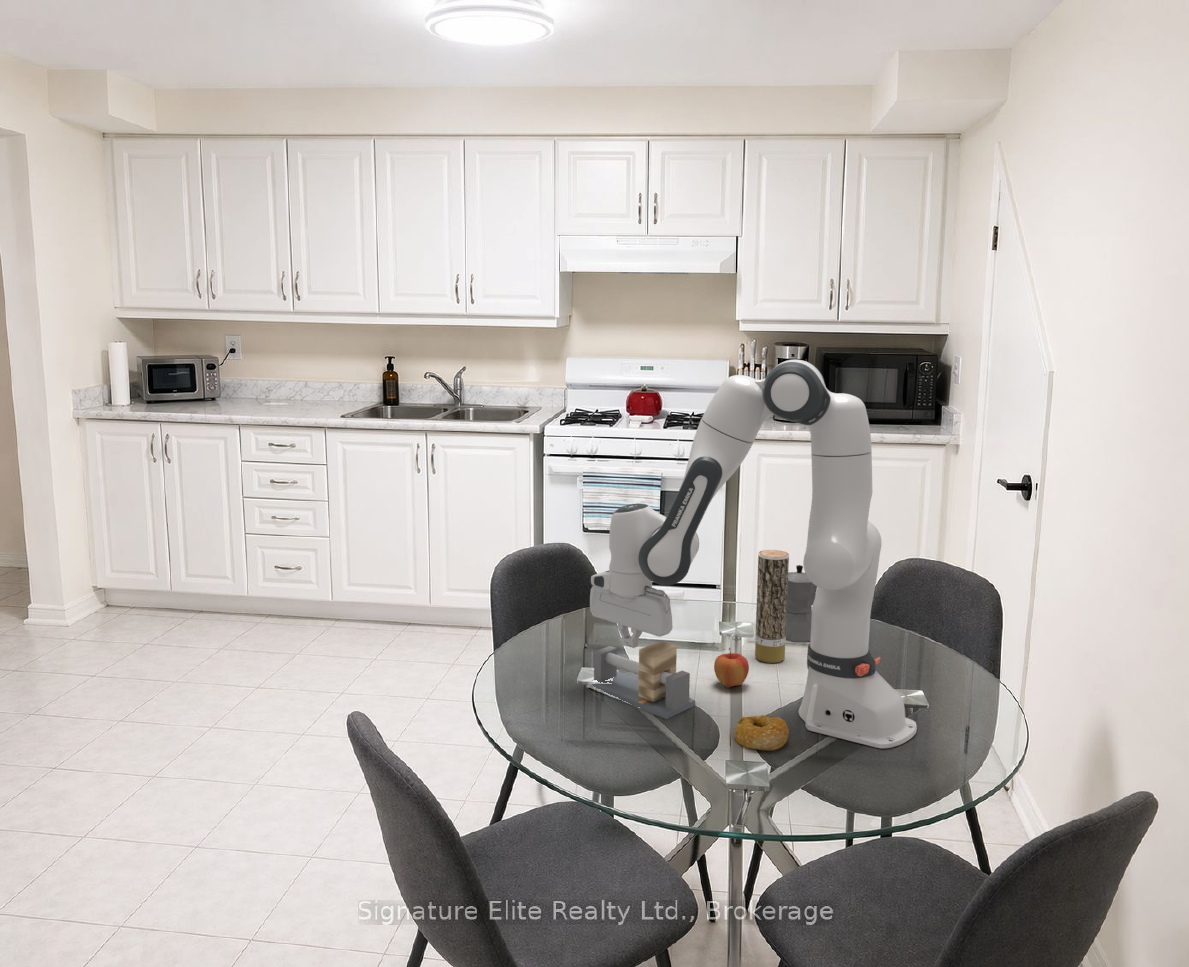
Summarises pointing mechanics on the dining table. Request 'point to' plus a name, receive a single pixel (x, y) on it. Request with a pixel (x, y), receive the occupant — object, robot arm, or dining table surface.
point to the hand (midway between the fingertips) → (630, 645)
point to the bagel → (761, 732)
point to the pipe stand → (629, 686)
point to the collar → (655, 669)
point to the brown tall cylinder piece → (771, 605)
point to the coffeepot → (799, 606)
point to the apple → (731, 669)
